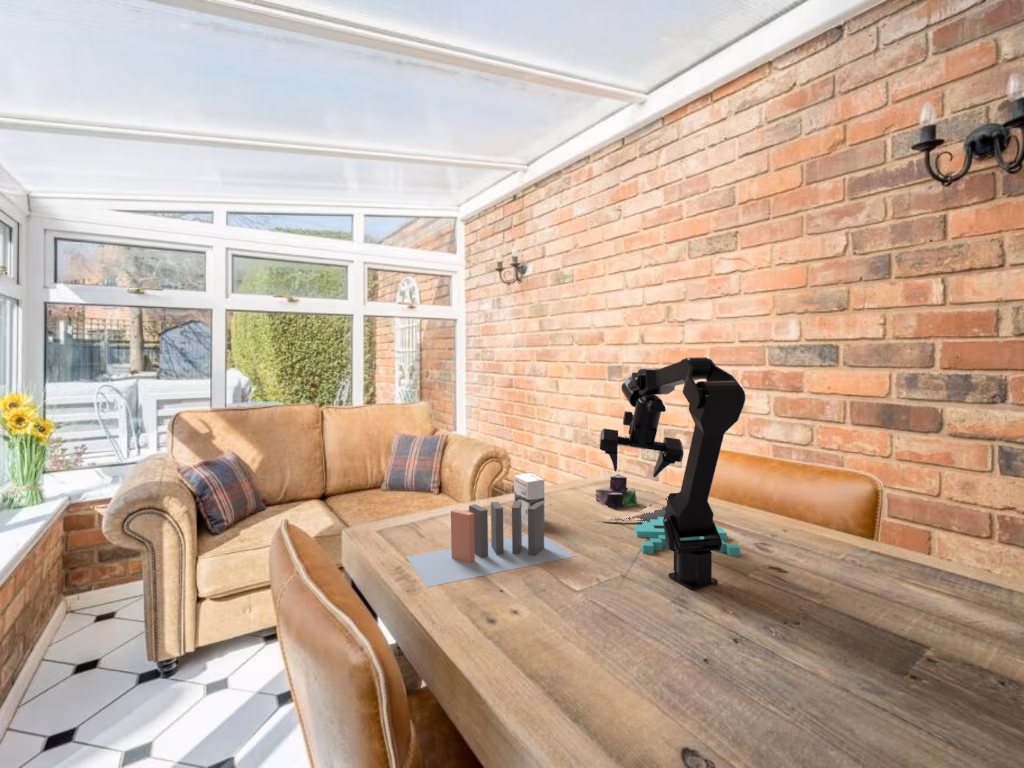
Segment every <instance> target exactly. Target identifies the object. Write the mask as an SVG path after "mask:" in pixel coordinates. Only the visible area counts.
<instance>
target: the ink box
mask: <svg viewBox="0 0 1024 768" xmlns="http://www.w3.org/2000/svg"><path fill="white" fill-rule="evenodd" d="M513 486H514V487H513V490H514V491H513V495H514V498H513V500H514V501H521V522H522V524H523V525H525V526H526V527H528V508H529V507H531V506H532V505H534V504H535V503H537V502H540V503H544V504H545V479H544V478H541V477H540V476H538V475H536V474H534V473H532V472H528V473H527V472H526V473H520V474H515V475H513ZM514 501H513V502H514ZM545 508H546V507H545V505H544V525H545V524H546V518H545V517H546V515H545V512H546V511H545Z"/></svg>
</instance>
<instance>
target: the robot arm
mask: <svg viewBox="0 0 1024 768" xmlns="http://www.w3.org/2000/svg"><path fill="white" fill-rule="evenodd" d="M698 380H703V381H698ZM705 380H706V381H705ZM695 381H697V382H695ZM680 385H683V388H682V394H683V396H684V398H685V399H686V401H687V402H688V403H689V404H688V412H689V413H690V416H691V418H692V420H693V422H694V428H693V433H692V437H691V441H690V446H689V450H688V455H687V460H686V465H685V469H684V474H683V479H682V481H681V483H682V484H681V487H680V488H681V489H680V490H679V492H670V493H669V494H668V496H667V498H668V500H667V506H666V508H665V511H666V513H665V515H664V518H663V525H664V532H665V539H666V544H667V546H668V547H667V549H668V551H671V552H673V572H670V573H668V575H667V576H668V577H669V578H670V579H672V580H674V581H675V582H677V583H679V584H681V585H683V587H684V586H685V587H686V588H688V589H690V590H697V589H702V588H705V587H709V586H712V585H716V584H718V583H719V582H718V581H719V580H718V579H717V578H714V577H713V575H712V574H713V573H712V569H713V568H712V567H713V566H712V565H713V564H712V563H713V562H712V561H713V552H712V551H714V552H715V551H716V550H717V551H720V549H721V545H722V540H721V538H720V535H719V533H718V531H717V528H716V527H717V526H716V524H715V521H714V512H713V509H712V508H711V507H712V506H711V505H710V504H709V503H710V502H709V496H710V492H711V488H712V484H713V481H714V476H715V472H716V468H717V465H718V460H719V456H720V452H721V448H722V444H723V440H724V436H725V434H726V432H727V431H728V430H730V429H731V428H732V427H733V426H734V425H735V424H736V423H737V422H738V421H739V418H740V417H741V413H742V412H743V409H744V406H745V404H746V403H745V402H746V391H745V390H744V388H743V387H742V386H741V385H740V383H739V382H738V381H737V379H736V378H735V377H734V376H733V375H732V374H730V373H729V372H727V371H725V370H724V369H722V368H721V367H719V366H717V365H716V364H715V363H714V361H713V360H712V359H711V358H707V357H706V356H705V357H704V356H702V357H699V356H698V357H685V358H682V359H681V360H680V361H678V362H674V363H672V364H669V365H666V366H664V367H661V368H659V367H657V368H640V369H639V370H638V371H637V372H632V373H631V375H630V377H628V378H626V379H625V380H624V382H623V383H622V384H621V391H622V393H623V395H624V397H625V398H626V400H627V401H628V403H629V404H630V406H631V407H632V408H634V412H632V411H626V410H625V411H624V412H623V413H624V414H623V419H622V424H623V425H624V426H628V427H629V428H628V436H629V437H625V436H619V430H617V429H609V428H603V429H601V431H600V436H599V449H600V451H603V452H604V453H605V454H606V455H609V457H610V459H611V462H612V466H613V470H614V472H617V470H618V449H619V448H618V446H619V447H620V446H621V447H625V448H633V449H640V450H652V451H657V452H659V454H658V457H657V460H656V463H655V466H654V468H653V473H652V477H653V478H656V477H657V476H658V475H659V474H660V473H661V472H662V471H663V470H664V469H665V468H667V467H668V466H670V465H671V464H672V465H674V464H675V463H681V462H682V461H683V457H684V452H685V451H684V446H683V442H682V441H681V439H679V438H674V437H666V436H665V437H664V438H663V442H662V441H656V437H657V433H658V428H659V423H660V418H661V414H662V413H665V412H666V411H667V410H666V409H667V408H666V406H665V404H664V401H663V400H662V398H660V397H659V395H660V396H661V395H669V394H671V393H672V392H673V391H675V389H676V386H680ZM702 536H704V539H697V540H683V541H681V540H680V538H687V537H702Z"/></svg>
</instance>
